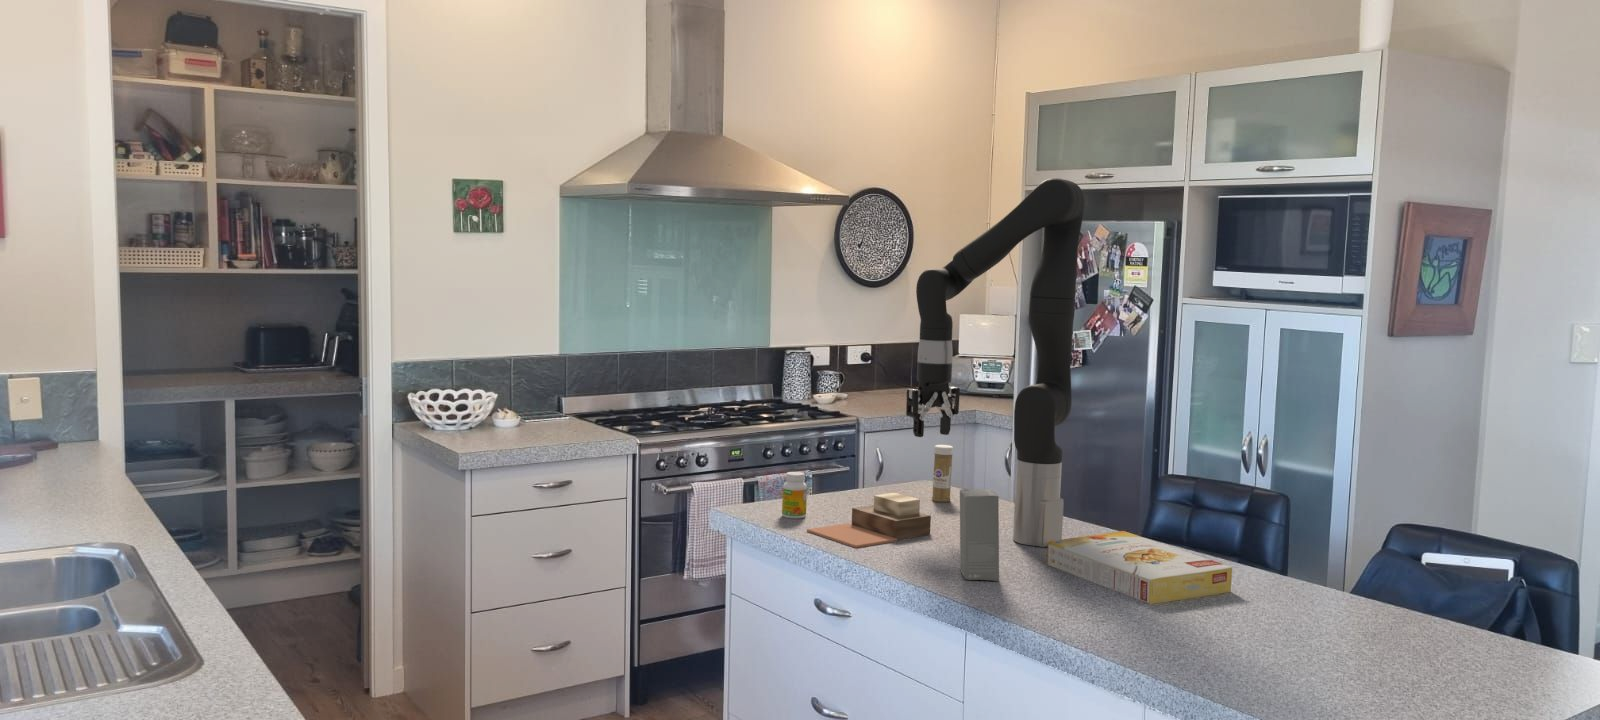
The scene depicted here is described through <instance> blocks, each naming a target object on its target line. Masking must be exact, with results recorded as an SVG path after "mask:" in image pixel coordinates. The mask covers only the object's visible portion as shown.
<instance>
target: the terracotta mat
mask: <svg viewBox="0 0 1600 720" xmlns="http://www.w3.org/2000/svg"><path fill="white" fill-rule="evenodd" d="M806 532H808V533H810V534H813V535H817V536H819V537H822V538H825V539H828V540H832V541H834V542H837V543H840V544H843V545H846V546H848V547H849V546H850V547H853V548H855V549H859V548H864V547H865V548H866V547H870V546H877V545H882V544H888V543H894V542H897V539H896V538H892V537H889V536H886V535H883V534H880V533H876V532H873V531H870V530H867V529H864V528H860V527H857V526H854V525H852V523H851V524H850V523H846V522H845V523H840V524H833V525H828V526H826V525H825V526H820V527H813V528H807V529H806Z"/></svg>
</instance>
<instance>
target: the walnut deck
mask: <svg viewBox="0 0 1600 720" xmlns="http://www.w3.org/2000/svg"><path fill="white" fill-rule="evenodd" d="M931 521H932V515H929V514H926V513H922V512H919V513H918V514H911V515H904V516H896V515H893V514H889V513H886V512H882V511H879V510H875V509H874V504H873V505H872V504H871V505H866V506H865V505H863V506H857V507H852V508H851V525H854V526H857V527H860V528H864V529H867V530H870V531H873V532H876V533H880V534H883V535H886V536H889V537H892V538H896V539H897V540H903V539H909V538H916V537H922V536H926V535H927V536H928V535H931V524H932V523H931Z"/></svg>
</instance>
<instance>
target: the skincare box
mask: <svg viewBox="0 0 1600 720" xmlns="http://www.w3.org/2000/svg"><path fill="white" fill-rule="evenodd" d="M999 505H1000V503H999V495H998V494H997V493H996V491H995V490H994V489H993V488H986V489H985V488H983V489H981V488H979V489H978V488H977V489H976V488H969V489H968V488H967V489H966V488H963V489H960V490H959V562H960V563H959V570H960V571H961V573H962V575H963V577H964V579H965V580H971V581H972V580H973V581H976V580H977V581H979V580H980V581H995V582H999V581H1000V539H999V537H1000V534H999V533H1000V531H999V530H1000V528H999V527H1000V526H999V525H1000V523H999V520H1000V519H999V517H1000V516H999V515H1000V514H999V513H1000V510H999Z"/></svg>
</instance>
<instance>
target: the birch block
mask: <svg viewBox="0 0 1600 720" xmlns="http://www.w3.org/2000/svg"><path fill="white" fill-rule="evenodd" d="M873 505H874V509H875V510H879V511H882V512H886V513H889V514H893V515H896V516H904V515H911V514H918V513H920V508H921V499H919V498H917V497H912V496H909V495H906V494H901V493H897V492H891V493H890V492H889V493H882V494H881V493H880V494H875V495H873Z"/></svg>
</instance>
